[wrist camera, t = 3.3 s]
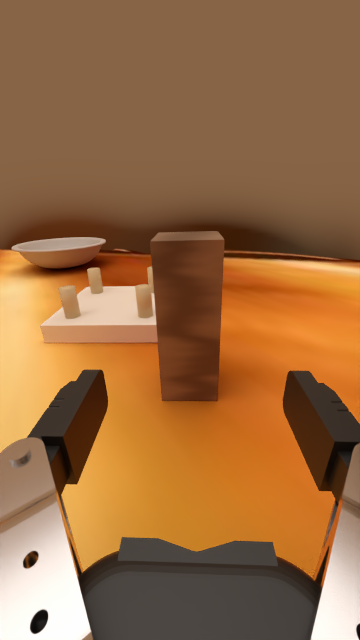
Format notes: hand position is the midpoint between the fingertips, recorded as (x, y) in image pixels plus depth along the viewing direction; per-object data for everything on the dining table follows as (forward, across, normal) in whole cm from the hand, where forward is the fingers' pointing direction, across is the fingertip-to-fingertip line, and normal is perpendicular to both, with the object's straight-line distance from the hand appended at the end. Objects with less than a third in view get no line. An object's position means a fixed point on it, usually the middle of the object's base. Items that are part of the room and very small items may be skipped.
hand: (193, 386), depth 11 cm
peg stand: (+28, +11, +9) cm, 31 cm away
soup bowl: (+64, +36, +9) cm, 74 cm away
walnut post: (+12, 0, +9) cm, 15 cm away
